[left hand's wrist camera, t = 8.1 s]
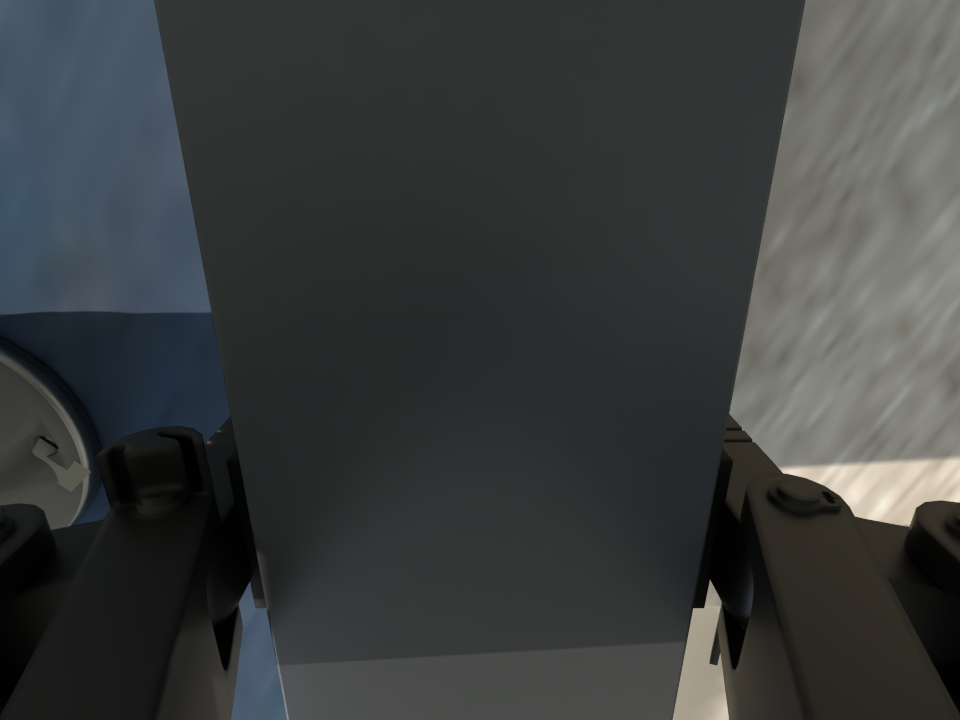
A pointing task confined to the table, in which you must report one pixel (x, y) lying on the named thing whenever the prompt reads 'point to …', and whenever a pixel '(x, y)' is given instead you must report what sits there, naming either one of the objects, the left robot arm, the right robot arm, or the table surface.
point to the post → (479, 329)
